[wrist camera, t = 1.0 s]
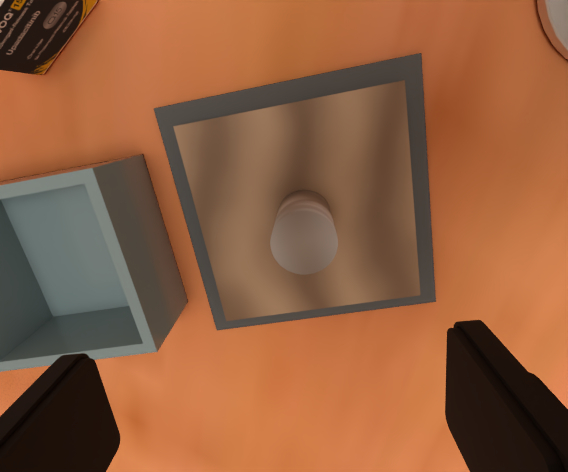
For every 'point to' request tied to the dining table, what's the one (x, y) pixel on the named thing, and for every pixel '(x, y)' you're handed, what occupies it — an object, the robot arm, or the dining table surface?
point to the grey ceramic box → (84, 265)
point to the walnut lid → (306, 202)
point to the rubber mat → (294, 92)
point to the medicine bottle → (37, 31)
